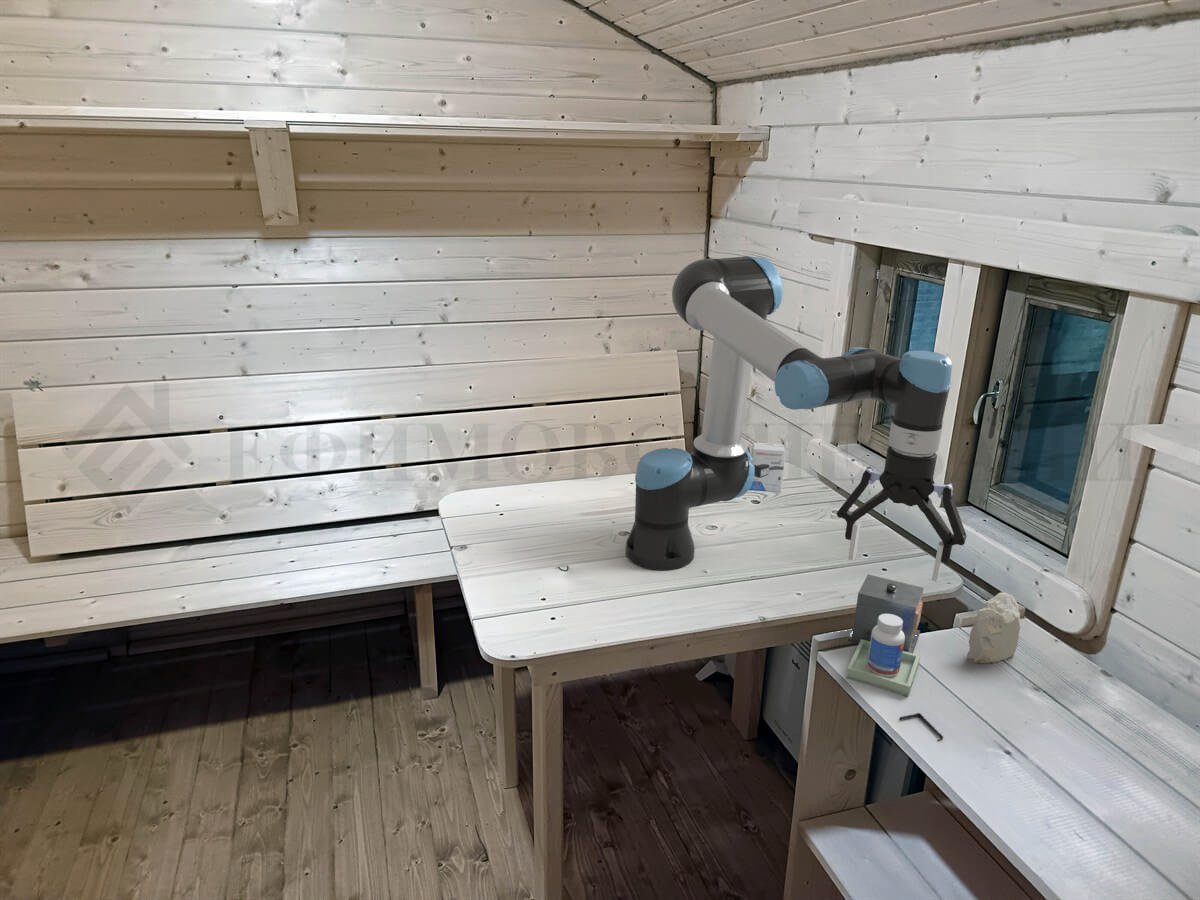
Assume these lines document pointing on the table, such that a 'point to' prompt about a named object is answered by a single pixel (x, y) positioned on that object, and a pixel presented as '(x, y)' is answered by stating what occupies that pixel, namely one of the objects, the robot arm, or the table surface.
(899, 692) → the tray
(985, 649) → the stone
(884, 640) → the pill bottle
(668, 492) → the robot arm
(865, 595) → the unit
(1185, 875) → the table surface
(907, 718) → the l-shaped bracket
